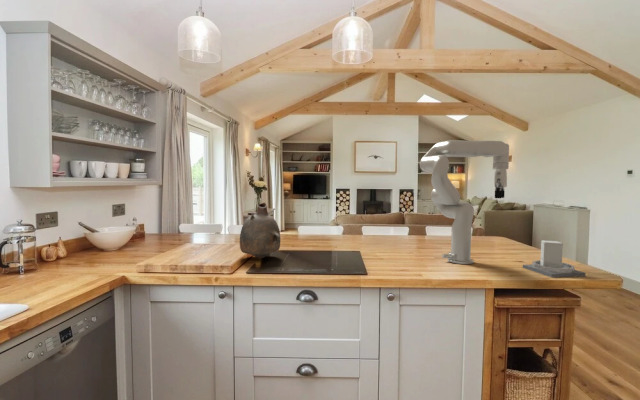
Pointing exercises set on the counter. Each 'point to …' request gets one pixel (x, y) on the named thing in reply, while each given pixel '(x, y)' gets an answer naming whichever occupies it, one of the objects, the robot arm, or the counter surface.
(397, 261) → the counter surface
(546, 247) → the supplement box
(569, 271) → the steel ring
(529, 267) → the charcoal board
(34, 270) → the counter surface
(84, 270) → the counter surface
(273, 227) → the jug
